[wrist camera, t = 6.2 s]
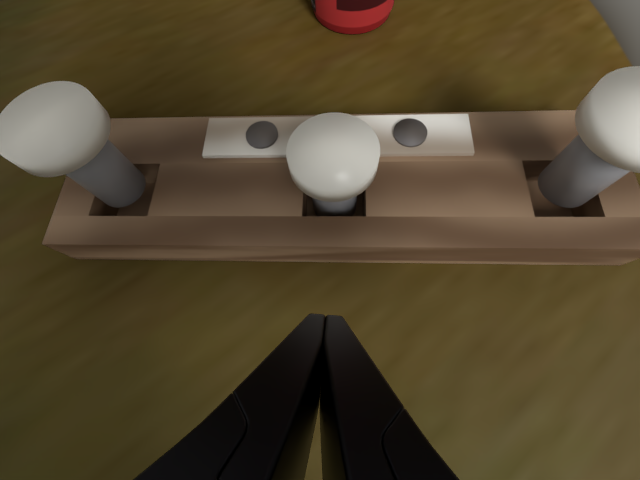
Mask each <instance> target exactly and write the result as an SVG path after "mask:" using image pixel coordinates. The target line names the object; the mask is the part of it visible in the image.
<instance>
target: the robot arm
mask: <svg viewBox="0 0 640 480" xmlns="http://www.w3.org/2000/svg"><path fill="white" fill-rule="evenodd" d="M320 388H321V389H320ZM319 400H320V432H321V454H322V476H323V480H459V479H458V477H457V476H456V475H455V474H454V473H453V471H452V470H451V469H450V468H449V467H448V465H447V464H446V463H445V462H444V460H443V459H442V458H441V457H440V455H439V454H438V453H437V452H436V450H435V449H434V448H433V447H432V446H431V444H430V443H429V442H428V440H427V439H426V437H425V436H424V435H423V433H422V432H421V430H420V429H419V428H418V426H417V425H416V424H415V422H414V421H413V419H412V418H411V416H410V415H409V413H408V412H407V410H406V409H404V406H403V405H402V403H401V402H400V400H399V399H398V397H397V396H396V394H395V393H394V392H393V390H392V389H391V387H390V386H389V384H388V383H387V381H386V380H385V378H384V377H383V375H382V374H381V372H380V371H379V370H378V368H377V367H376V365H375V364H374V362H373V361H372V359H371V358H370V356H369V355H368V353H367V352H366V350H365V349H364V348H363V346H362V345H361V343H360V342H359V340H358V339H357V337H356V336H355V334H354V333H353V331H352V330H351V329H350V327H349V326H348V324H347V323H346V321H345V320H344V318H343V317H342V316H335V315H327V316H326V319H325V315H322V314H309V315H308V316H307V317H306V318H305V319H304V320H303V321H302V322H301V323H300V324H299V325H298V326H297V327H296V328H295V329H294V330H293V331H292V332H291V333H290V334H289V335H288V336H287V337H286V338H285V339H284V340H283V341H282V342H281V343H280V344H279V345H278V346H277V347H276V348H275V349H274V350H273V351H272V352H271V353H270V354H269V355H268V356H267V357H266V358H265V359H264V360H263V361H262V363H261V364H260V365H259V366H258V367H257V368H256V369H255V370H254V371H253V372H252V373H251V374H250V375H249V376H248V377H247V378H246V379H245V380H244V381H243V382H242V383H241V384H240V385H239V386H238V387H237V388H236V389H235V390H234V391H233V394H230V395H229V396H228V397H227V398H226V399H225V400H224V401H223V402H222V403H221V404H220V405H219V406H218V407H217V408H216V409H215V410H214V411H213V412H212V413H211V414H210V415H209V416H208V417H206V418H205V419H204V420H203V421H202V422H201V423H200V424H199V425H198V426H197V427H196V428H194V429H193V430H192V431H191V432H190V433H189V434H187V435H186V436H185V437H184V438H183V439H182V440H181V441H179V442H178V443H177V444H176V445H175V446H173V447H172V448H171V449H170V450H169V451H167V452H166V453H165V454H164V455H163V456H161V457H160V458H159V459H158V460H156V461H155V462H154V463H153V464H152V465H150V466H149V467H148V468H147V469H146V470H144V471H143V472H142V473H141V474H140V475H138V476H137V477H136V478H135V479H133V480H304V477H305V472H306V468H307V463H308V458H309V453H310V448H311V443H312V438H313V433H314V429H315V424H316V419H317V413H318V408H319Z"/></svg>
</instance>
